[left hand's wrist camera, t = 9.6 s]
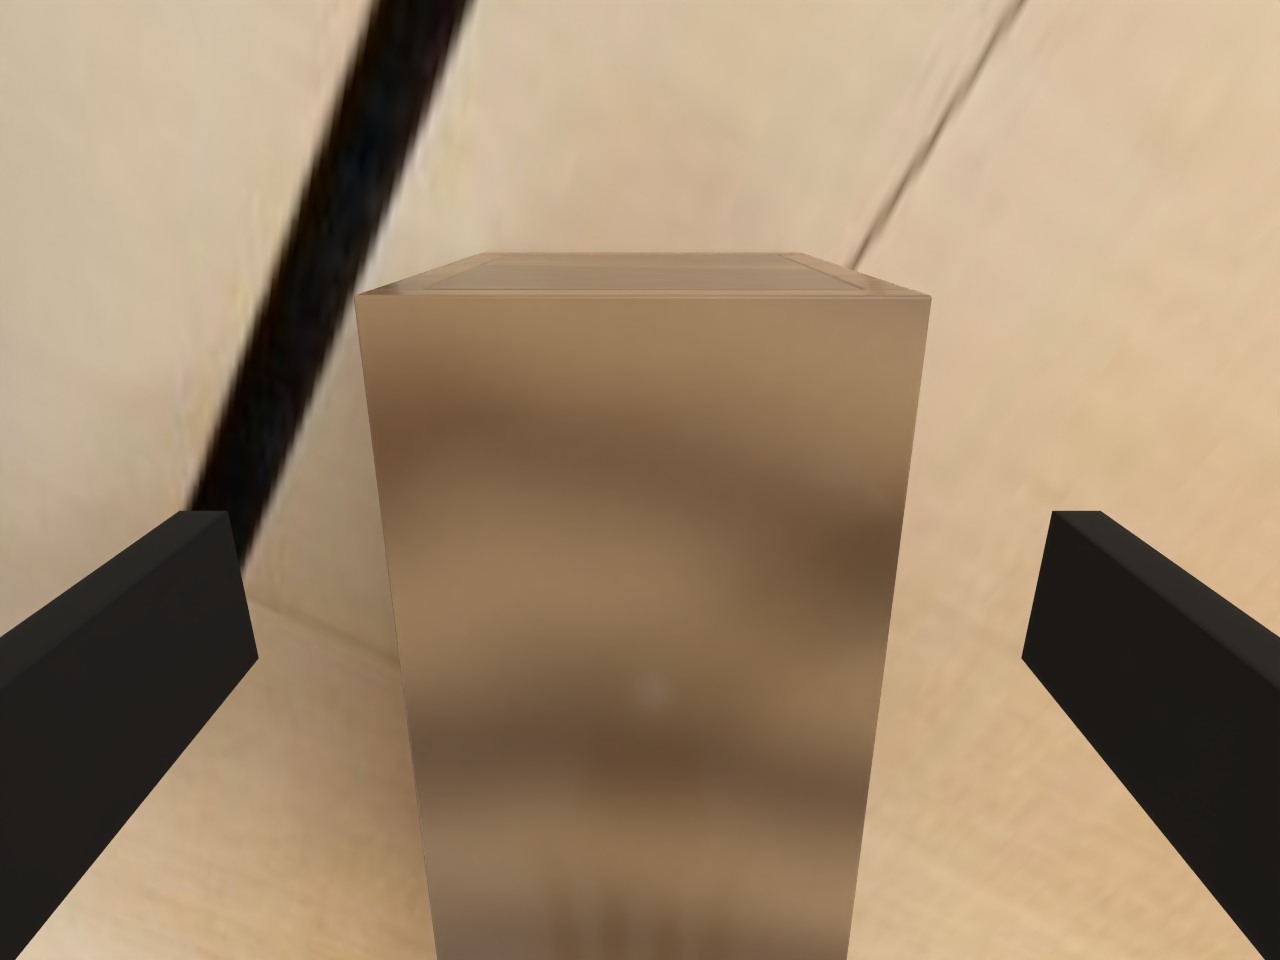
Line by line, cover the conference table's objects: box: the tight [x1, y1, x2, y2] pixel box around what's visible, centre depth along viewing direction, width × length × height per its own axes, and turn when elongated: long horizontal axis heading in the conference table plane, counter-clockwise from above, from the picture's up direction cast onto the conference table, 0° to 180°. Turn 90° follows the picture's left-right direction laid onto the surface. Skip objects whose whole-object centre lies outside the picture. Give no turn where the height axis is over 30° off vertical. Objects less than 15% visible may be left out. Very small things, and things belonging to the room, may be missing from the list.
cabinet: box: [354, 253, 931, 960], centre depth 22 cm, size 20×10×11 cm, turn 0°
